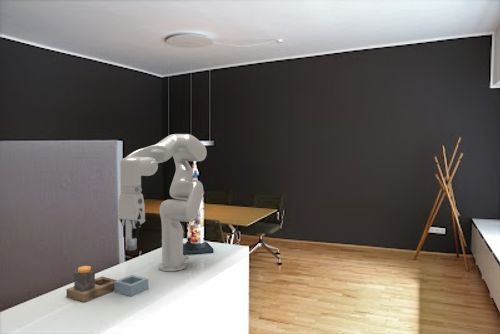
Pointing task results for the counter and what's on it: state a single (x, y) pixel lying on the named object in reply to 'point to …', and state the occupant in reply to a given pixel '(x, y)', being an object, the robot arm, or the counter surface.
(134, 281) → the blue-grey square frame
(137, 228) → the robot arm
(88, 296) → the socket block
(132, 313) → the counter surface
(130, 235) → the grey smooth thick cylinder
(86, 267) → the release button
